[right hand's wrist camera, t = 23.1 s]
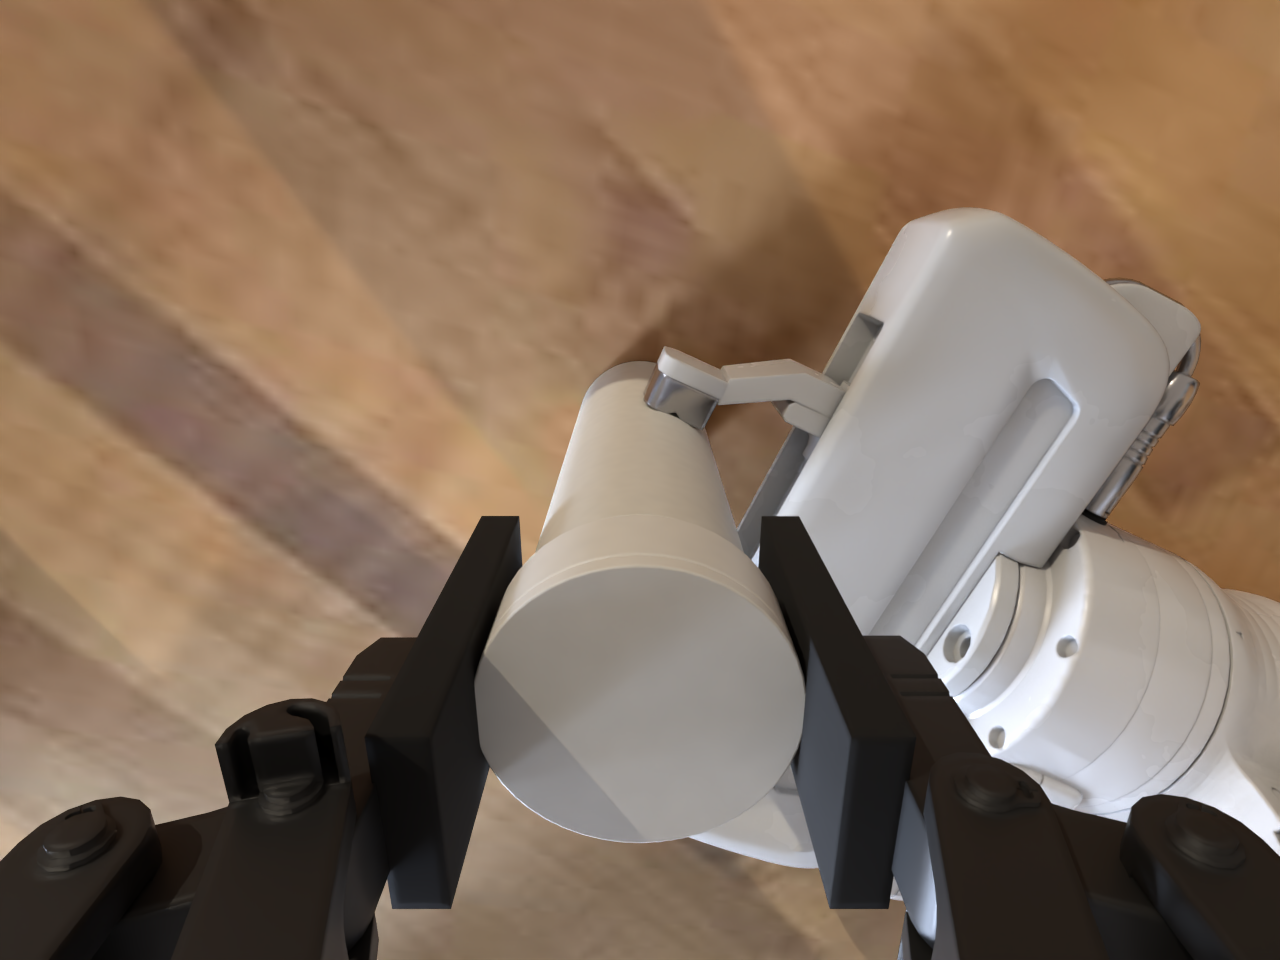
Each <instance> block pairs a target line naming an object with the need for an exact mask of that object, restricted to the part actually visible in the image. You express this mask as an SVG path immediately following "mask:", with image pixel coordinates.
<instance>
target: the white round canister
mask: <svg viewBox="0 0 1280 960" xmlns="http://www.w3.org/2000/svg"><path fill="white" fill-rule="evenodd" d="M474 686H475V698H476V709H477V719H478V730H479V740H480V747H481V750H482V752H483V754H484V756H485V758H486V760H487V762H488V764H489V766H490V768H491V769H492V770H493V772H494V773H495V775H496V776H497V777H498V779H499V780H500V781H501V783H502V784H503V785H504V786H505V787H506V788H507V789H508V790H509V791H510V792H511V793H512V794H513V796H514V797H516V798H517V799H518V800H519V801H520V802H522V803H523V804H524V805H525V806H527V807H528V808H529V809H531V810H532V811H534V812H535V813H537V814H538V815H540V816H541V817H543V818H545V819H546V820H548V821H550V822H552V823H554V824H557V825H559V826H561V827H563V828H565V829H568V830H571V831H573V832H576V833H579V834H582V835H586V836H590V837H594V838H598V839H602V840H609V841H616V842H629V843H650V842H663V841H670V840H676V839H682V838H686V837H689V836H693V835H697V834H700V833H703V832H706V831H708V830H711V829H714V828H716V827H719V826H721V825H723V824H725V823H727V822H729V821H730V820H732V819H734V818H736V817H738V816H739V815H741V814H742V813H744V812H745V811H747V810H748V809H750V808H751V807H753V806H754V805H755V804H756V803H757V802H759V801H760V800H761V799H762V798H763V797H764V796H766V795H767V794H768V793H769V791H770V790H771V789H772V788H773V787H774V786H775V785H776V784H777V783H778V782H779V780H780V779H781V777H782V776H783V775H784V773H785V772H786V770H787V769H788V767H789V766H790V764H791V762H792V760H793V758H794V756H795V754H796V752H797V750H798V747H799V744H800V741H801V736H802V728H803V717H804V707H805V695H806V685H805V678H804V674H803V671H802V668H801V665H800V662H799V659H798V656H797V653H796V650H795V648H794V645H793V642H792V639H791V636H790V634H789V631H788V628H787V625H786V622H785V620H784V617H783V614H782V611H781V609H780V606H779V603H778V600H777V598H776V596H775V594H774V592H773V590H772V588H771V586H770V584H769V582H768V581H767V579H766V578H765V576H764V575H763V574H762V572H761V571H760V569H759V568H758V567H757V566H756V565H755V564H754V563H753V562H752V560H751V559H750V558H749V557H748V556H747V555H746V554H745V553H743V552H742V551H741V550H740V549H738V548H737V547H736V546H735V545H733V544H732V543H731V542H729V541H727V540H726V539H724V538H722V537H721V536H719V535H718V534H716V533H714V532H712V531H709V530H707V529H705V528H703V527H700V526H698V525H695V524H692V523H689V522H685V521H682V520H679V519H673V518H668V517H662V516H652V515H628V516H616V517H611V518H606V519H601V520H596V521H593V522H590V523H587V524H584V525H581V526H578V527H576V528H574V529H572V530H570V531H568V532H565V533H563V534H561V535H560V536H558V537H556V538H555V539H553V540H552V541H550V542H549V543H547V544H546V545H544V546H543V547H542V548H541V549H539V550H538V551H537V552H536V553H535V554H534V555H532V556H531V557H530V558H529V559H528V560H527V562H526V563H525V564H524V565H523V566H522V567H521V568H520V569H519V571H518V572H517V573H516V575H515V576H514V578H513V579H512V581H511V583H510V584H509V586H508V588H507V590H506V592H505V594H504V596H503V598H502V600H501V603H500V606H499V609H498V611H497V614H496V617H495V620H494V622H493V625H492V628H491V631H490V633H489V636H488V639H487V642H486V644H485V647H484V650H483V653H482V655H481V658H480V661H479V664H478V668H477V671H476V674H475V678H474Z"/></svg>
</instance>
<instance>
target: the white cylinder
mask: <svg viewBox="0 0 1280 960" xmlns="http://www.w3.org/2000/svg"><path fill="white" fill-rule="evenodd" d="M655 365H656V363H653V362H648V361H632V362H627V363H622V364H619V365H617V366H614V367H612V368H610V369H608V370H607V371H605V372H604V373H603V374H601V375H600V376H599V377H598V378H597V379H596V380H595V381H594V382H593V383H592V385H591V386H590V387H589V389H588V391H587V392H586V394H585V397H584V399H583V402H582V405H581V408H580V411H579V415H578V418H577V421H576V424H575V427H574V431H573V434H572V437H571V440H570V443H569V447H568V450H567V453H566V456H565V459H564V462H563V466H562V469H561V472H560V475H559V478H558V482H557V485H556V488H555V491H554V494H553V498H552V501H551V504H550V507H549V510H548V514H547V517H546V520H545V523H544V526H543V529H542V533H541V536H540V539H539V542H538V545H537V549H536V552H537V551H538V550H539V549H541V548H542V547H543V546H544V545H546V544H547V543H549V542H550V541H552V540H553V539H555V538H556V537H558V536H560V535H561V534H563V533H565V532H568V531H570V530H572V529H574V528H576V527H578V526H581V525H584V524H587V523H590V522H593V521H596V520H601V519H606V518H611V517H616V516H628V515H652V516H662V517H668V518H673V519H679V520H682V521H685V522H689V523H692V524H695V525H698V526H700V527H703V528H705V529H707V530H709V531H712V532H714V533H716V534H718V535H719V536H721V537H722V538H724V539H726V540H727V541H729V542H731V543H732V544H733V545H735V546H736V547H737V548H738V549H740V550H741V551H742V552H743V553H744V551H743V548H742V545H741V541H740V538H739V535H738V532H737V529H736V525H735V522H734V519H733V516H732V513H731V509H730V506H729V503H728V500H727V497H726V493H725V490H724V487H723V484H722V481H721V477H720V474H719V471H718V468H717V465H716V461H715V458H714V455H713V452H712V449H711V445H710V442H709V439H708V436H707V433H706V429H705V427H704V429H703V430H701V429H698V428H696V427H694V426H691V425H689V424H687V423H685V422H683V421H682V420H680V419H679V417H678V415H677V413H676V412H675V413H669V414H666V413H663V412H660V411H658V410H655V409H654V408H652V407H650V406H649V405H647V404H646V403H645V402H644V400H643V398H644V395H643V394H644V390H645V388H646V386H647V384H648V381H649V379H650V377H651V374H652V372H653V370H654V368H655ZM536 552H535V553H536Z"/></svg>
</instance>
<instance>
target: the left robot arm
mask: <svg viewBox="0 0 1280 960" xmlns="http://www.w3.org/2000/svg"><path fill="white" fill-rule="evenodd" d="M1200 331H1201V324H1200V322H1199V321H1198V319H1197V318H1196V316H1195V315H1194V314H1193V313H1192V312H1191V311H1190V310H1188V309H1187V308H1186V307H1185V306H1184V305H1183V304H1181V303H1180V302H1178V301H1176V300H1174V299H1172V298H1170V297H1168V296H1167V295H1165V294H1163V293H1161V292H1159V291H1157V290H1155V289H1153V288H1151V287H1150V286H1148V285H1146V284H1144V283H1142V282H1140V281H1136V280H1133V279H1127V278H1109V279H1104V280H1103V279H1101V278H1100V277H1099V276H1098V275H1096V274H1095V273H1094V272H1092V271H1091V270H1090V269H1088V268H1087V267H1086V266H1085V265H1083V264H1082V263H1081V262H1079V261H1078V260H1076V259H1075V258H1074V257H1072V256H1071V255H1069V254H1068V253H1067V252H1065V251H1064V250H1062V249H1061V248H1059V247H1058V246H1056V245H1055V244H1053V243H1052V242H1050V241H1049V240H1048V239H1046V238H1044V237H1043V236H1041V235H1039V234H1038V233H1036V232H1035V231H1033V230H1031V229H1030V228H1028V227H1027V226H1025V225H1023V224H1021V223H1020V222H1018V221H1016V220H1014V219H1012V218H1011V217H1009V216H1006V215H1004V214H1002V213H1000V212H997V211H993V210H988V209H983V208H972V207H961V208H952V209H948V210H943V211H940V212H936V213H933V214H929V215H926V216H923V217H920V218H918V219H915V220H912V221H910V222H909V223H907V224H906V225H905V226H904V227H903V228H902V229H901V231H900V232H899V234H898V235H897V237H896V239H895V241H894V243H893V244H892V246H891V248H890V250H889V252H888V254H887V255H886V257H885V259H884V261H883V263H882V265H881V266H880V268H879V270H878V272H877V274H876V276H875V277H874V279H873V281H872V283H871V285H870V287H869V288H868V290H867V292H866V294H865V296H864V297H863V299H862V301H861V303H860V305H859V307H858V308H857V310H856V312H855V314H854V316H853V318H852V319H851V321H850V323H849V325H848V327H847V328H846V330H845V332H844V334H843V336H842V338H841V339H840V341H839V343H838V345H837V347H836V349H835V350H834V352H833V354H832V356H831V358H830V360H829V361H828V363H827V365H826V367H825V369H824V370H823V372H822V373H820V372H818V371H816V370H813V369H811V368H809V367H807V366H805V365H803V364H800V363H798V362H796V361H794V360H792V359H780V360H770V361H761V362H752V363H743V364H734V365H725V366H722V368H721V370H720V369H718V368H716V367H714V366H712V365H710V364H707V363H705V362H703V361H701V360H699V359H696V358H694V357H692V356H690V355H688V354H686V353H683V352H681V351H679V350H677V349H674V348H670V347H666V346H664V348H663V350H662V353H661V355H660V357H659V359H658V361H657V363H656V365H655V368H654V370H653V372H652V374H651V377H650V379H649V381H648V384H647V386H646V388H645V390H644V394H643V395H644V398H643V400H644V402H645V403H646V404H647V405H649V406H650V407H652V408H654V409H655V410H658V411H660V412H663V413H666V414H669V413H675V412H676V413H677V415H678V417H679V419H680V420H682V421H683V422H685V423H687V424H689V425H691V426H694V427H696V428H698V429H701V430H703V429H704V427H705V425H706V423H707V421H708V419H709V418H710V416H711V414H712V412H713V410H714V408H715V406H716V404H718V405H728V404H741V403H754V402H767V401H771V403H772V404H773V406H774V407H775V408H776V410H777V411H778V413H779V414H780V415H781V417H782V418H783V419H784V421H785V422H787V423H789V424H791V425H793V427H792V429H791V431H790V433H789V434H788V436H787V438H786V440H785V442H784V443H783V445H782V447H781V449H780V451H779V453H778V454H777V456H776V458H775V460H774V462H773V464H772V465H771V467H770V469H769V471H768V473H767V475H766V476H765V478H764V480H763V482H762V484H761V485H760V487H759V489H758V491H757V493H756V495H755V496H754V498H753V500H752V502H751V504H750V506H749V507H748V509H747V511H746V513H745V515H744V516H743V518H742V520H741V522H740V524H739V526H738V527H737V532H738V535H739V538H740V541H741V545H742V548H743V551H744V553H745V554H746V555H747V556H748V557H749V558H750V559H751V560H752V562H753V563H754V564H755V565H756V566H757V567H758V565H759V550H760V534H761V518H762V516H799V517H800V519H801V521H802V523H803V525H804V526H805V528H806V530H807V532H808V534H809V536H810V538H811V540H812V542H813V543H814V545H815V547H816V549H817V551H818V553H819V555H820V557H821V558H822V560H823V562H824V564H825V566H826V568H827V570H828V572H829V573H830V575H831V577H832V579H833V581H834V583H835V585H836V587H837V589H838V590H839V592H840V594H841V596H842V598H843V600H844V602H845V604H846V605H847V607H848V609H849V611H850V613H851V615H852V617H853V619H854V620H855V622H856V624H857V626H858V628H859V630H860V632H861V634H862V635H900V636H901V637H903V638H904V639H906V640H907V641H908V642H910V643H911V644H912V645H914V646H915V647H916V648H918V649H919V650H920V651H922V652H923V653H924V654H925V655H926V657H927V658H928V660H929V661H930V663H931V664H932V666H933V667H934V669H935V670H936V672H937V674H938V678H941V680H942V681H943V683H944V684H945V686H946V687H947V689H948V690H949V695H950V696H952V697H953V698H954V700H955V701H956V703H957V704H958V706H959V707H960V709H961V710H962V712H963V713H964V715H965V716H966V718H967V720H968V721H969V723H970V724H971V726H972V727H973V729H974V730H975V732H976V733H977V735H978V736H979V738H980V739H981V741H982V742H983V744H984V746H985V747H986V749H987V750H988V752H989V753H990V755H991V756H992V757H995V758H998V759H1002V760H1004V761H1005V762H1007V763H1009V764H1011V765H1013V766H1015V767H1017V768H1019V769H1021V770H1023V771H1024V772H1025V773H1026V774H1028V775H1029V776H1030V777H1031V778H1032V779H1033V780H1035V781H1036V782H1037V783H1038V784H1039V785H1040V786H1041V787H1042V789H1043V790H1044V792H1045V794H1046V795H1047V797H1048V798H1049V800H1050V801H1051V803H1053V804H1056V805H1059V806H1062V807H1065V808H1069V809H1072V810H1075V811H1080V812H1084V813H1088V814H1092V815H1097V816H1101V817H1105V818H1109V819H1114V820H1118V821H1122V822H1126V823H1127V820H1128V817H1129V814H1130V810H1131V807H1132V806H1133V805H1134V804H1135V803H1136V802H1137V801H1138V800H1140V799H1141V798H1142V797H1145V796H1152V795H1158V794H1166V795H1173V796H1180V797H1187V798H1190V799H1192V800H1195V801H1198V802H1201V803H1204V804H1207V805H1210V806H1213V807H1215V808H1217V809H1219V810H1220V811H1222V812H1224V813H1226V814H1228V815H1229V816H1231V817H1233V818H1235V819H1237V820H1239V821H1240V822H1242V823H1243V824H1244V825H1246V826H1247V827H1248V828H1249V829H1251V830H1252V831H1253V832H1254V833H1255V834H1257V835H1258V836H1259V837H1260V838H1262V839H1263V840H1264V841H1265V842H1266V843H1267V844H1268V845H1269V846H1270V847H1271V848H1272V849H1273V850H1274V851H1275V852H1276V853H1277V854H1278V855H1279V856H1280V603H1279V602H1277V601H1274V600H1271V599H1269V598H1266V597H1263V596H1259V595H1256V594H1252V593H1248V592H1244V591H1238V590H1232V589H1223V588H1220V587H1219V586H1218V585H1217V584H1216V583H1215V582H1214V581H1213V580H1212V579H1211V578H1210V577H1209V576H1207V575H1206V574H1205V573H1204V572H1202V571H1201V570H1200V569H1199V568H1198V567H1196V566H1195V565H1193V564H1191V563H1190V562H1188V561H1186V560H1185V559H1183V558H1181V557H1180V556H1178V555H1176V554H1174V553H1172V552H1170V551H1167V550H1165V549H1163V548H1161V547H1159V546H1157V545H1155V544H1153V543H1151V542H1148V541H1146V540H1144V539H1142V538H1140V537H1137V536H1135V535H1133V534H1131V533H1129V532H1127V531H1125V530H1122V529H1120V528H1118V527H1116V526H1114V525H1112V524H1110V523H1108V522H1106V521H1105V520H1106V519H1107V518H1108V516H1109V514H1110V513H1111V512H1112V511H1113V509H1114V508H1115V507H1116V505H1117V504H1118V503H1119V501H1120V500H1121V498H1122V497H1123V496H1124V494H1125V493H1126V492H1127V490H1128V489H1129V488H1130V486H1131V485H1132V484H1133V482H1134V481H1135V479H1136V478H1137V476H1138V475H1139V473H1140V472H1141V470H1142V469H1143V466H1142V465H1145V463H1146V461H1147V459H1148V458H1147V456H1150V454H1151V452H1152V451H1153V449H1152V448H1153V447H1155V446H1156V445H1157V443H1158V442H1159V440H1158V439H1159V438H1162V436H1163V435H1164V434H1165V432H1166V431H1167V429H1168V428H1169V427H1170V425H1171V426H1174V425H1175V424H1176V423H1177V422H1178V420H1179V419H1180V418H1181V417H1182V416H1183V415H1184V413H1185V412H1186V410H1187V409H1188V408H1189V406H1190V405H1191V403H1192V401H1193V399H1194V397H1195V395H1196V393H1197V391H1198V389H1199V386H1200V382H1199V381H1198V380H1196V379H1194V378H1192V377H1191V376H1192V375H1193V373H1194V370H1195V368H1196V366H1197V363H1198V360H1199V355H1200V349H1201V337H1200ZM1177 365H1178V366H1177ZM1176 366H1177V368H1176ZM1175 368H1176V371H1175V370H1174V369H1175ZM689 837H690V838H693V839H695V840H698V841H701V842H704V843H707V844H710V845H713V846H716V847H719V848H722V849H725V850H729V851H732V852H735V853H738V854H742V855H745V856H749V857H752V858H756V859H759V860H763V861H767V862H771V863H775V864H779V865H784V866H789V867H797V868H819V867H818V864H817V860H816V856H815V853H814V849H813V845H812V842H811V838H810V834H809V831H808V827H807V823H806V820H805V816H804V812H803V809H802V805H801V801H800V798H799V794H798V790H797V787H796V783H795V780H794V776H793V772H792V769H791V765H790V766H789V767H788V769H787V770H786V772H785V773H784V775H783V776H782V777H781V779H780V780H779V782H778V783H777V784H776V785H775V786H774V787H773V788H772V789H771V790H770V791H769V793H768V794H767V795H766V796H764V797H763V798H762V799H761V800H760V801H759V802H757V803H756V804H755V805H754V806H753V807H751V808H750V809H748V810H747V811H745V812H744V813H742V814H741V815H739V816H738V817H736V818H734V819H732V820H730V821H729V822H727V823H725V824H723V825H721V826H719V827H716V828H714V829H711V830H708V831H706V832H703V833H700V834H697V835H693V836H689ZM890 899H894V900H899V901H903V898H902V896H901V893H900V891H899V888H898V885H897V883H896V880H895V878H893V884H892V890H891V896H890Z"/></svg>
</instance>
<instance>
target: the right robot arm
mask: <svg viewBox="0 0 1280 960" xmlns="http://www.w3.org/2000/svg"><path fill="white" fill-rule="evenodd" d="M521 567H522V554H521V538H520V522H519V516H482V517H481V519H480V520H479V522H478V524H477V526H476V528H475V530H474V532H473V534H472V535H471V537H470V539H469V541H468V543H467V545H466V547H465V549H464V551H463V552H462V554H461V556H460V558H459V560H458V562H457V564H456V566H455V567H454V569H453V571H452V573H451V575H450V577H449V579H448V581H447V582H446V584H445V586H444V588H443V590H442V592H441V594H440V596H439V598H438V599H437V601H436V603H435V605H434V607H433V609H432V611H431V613H430V614H429V616H428V618H427V620H426V622H425V624H424V626H423V628H422V630H421V631H420V633H419V635H418V637H417V638H380V639H378V640H377V641H376V642H374V643H373V644H372V645H370V646H369V647H368V648H366V649H365V650H364V651H362V652H361V653H360V654H358V655H357V656H356V658H355V659H354V661H353V662H352V664H351V665H350V667H349V668H348V670H347V671H346V673H345V675H344V676H343V681H340V682H339V684H338V685H337V687H336V688H335V690H334V692H333V693H332V698H331V699H328V701H327V702H324V701H320V700H316V699H312V698H310V699H289V700H285V701H281V702H277V703H273V704H269V705H266V706H264V707H262V708H259V709H257V710H255V711H253V712H251V713H249V714H246V715H244V716H243V717H242V718H240V719H239V720H238V721H236V722H235V723H234V724H232V725H231V726H230V727H228V728H227V729H226V730H225V731H224V733H223V734H222V736H221V737H220V738H219V740H218V741H217V742H216V744H215V747H216V751H217V755H218V759H219V763H220V767H221V771H222V775H223V779H224V783H225V787H226V791H227V795H228V799H229V805H228V807H225V808H222V809H218V810H215V811H212V812H209V813H205V814H201V815H196V816H192V817H188V818H184V819H179V820H175V821H171V822H167V823H162V824H158V825H155V824H154V820H153V817H152V814H151V810H150V809H149V808H148V807H147V806H146V805H145V804H144V803H142V802H141V801H140V800H137V799H131V798H125V797H115V798H108V799H100V800H95V801H92V802H89V803H86V804H83V805H80V806H78V807H75V808H72V809H69V810H67V811H65V812H63V813H61V814H60V815H58V816H56V817H54V818H52V819H51V820H49V821H47V822H45V823H43V824H42V825H40V826H39V827H38V828H36V829H35V830H34V831H33V832H32V833H30V834H29V835H28V836H27V837H25V838H24V839H23V840H22V841H20V842H19V843H18V844H17V845H16V846H15V847H14V848H13V849H12V850H11V851H10V852H9V853H8V854H7V855H6V856H5V857H4V858H3V859H2V860H1V861H0V960H377V952H378V942H379V939H378V931H377V924H376V918H375V913H374V912H375V909H376V906H377V904H378V901H379V899H380V896H381V893H382V891H383V888H384V886H385V883H386V880H387V879H388V885H389V892H390V898H391V904H392V909H451V906H452V903H453V899H454V895H455V892H456V888H457V884H458V881H459V877H460V874H461V870H462V866H463V863H464V859H465V855H466V852H467V848H468V844H469V841H470V837H471V833H472V830H473V826H474V822H475V819H476V815H477V811H478V808H479V804H480V800H481V797H482V793H483V790H484V786H485V782H486V779H487V775H488V771H489V768H490V766H489V764H488V762H487V760H486V758H485V756H484V754H483V752H482V750H481V747H480V740H479V730H478V719H477V709H476V698H475V686H474V678H475V674H476V671H477V668H478V664H479V661H480V658H481V655H482V653H483V650H484V647H485V644H486V642H487V639H488V636H489V633H490V631H491V628H492V625H493V622H494V620H495V617H496V614H497V611H498V609H499V606H500V603H501V600H502V598H503V596H504V594H505V592H506V590H507V588H508V586H509V584H510V583H511V581H512V579H513V578H514V576H515V575H516V573H517V572H518V571H519V569H520V568H521ZM758 568H759V569H760V571H761V572H762V574H763V575H764V576H765V578H766V579H767V581H768V582H769V584H770V586H771V588H772V590H773V592H774V594H775V596H776V598H777V600H778V603H779V606H780V609H781V611H782V614H783V617H784V620H785V622H786V625H787V628H788V631H789V634H790V636H791V639H792V642H793V645H794V648H795V650H796V653H797V656H798V659H799V662H800V665H801V668H802V671H803V674H804V678H805V685H806V695H805V707H804V717H803V728H802V736H801V741H800V744H799V747H798V750H797V752H796V754H795V756H794V758H793V760H792V762H791V764H790V765H791V769H792V772H793V776H794V780H795V783H796V787H797V790H798V794H799V798H800V801H801V805H802V809H803V812H804V816H805V820H806V823H807V827H808V831H809V834H810V838H811V842H812V845H813V849H814V853H815V856H816V860H817V864H818V867H819V871H820V874H821V878H822V882H823V885H824V889H825V893H826V896H827V900H828V904H829V907H830V909H888V908H889V902H890V896H891V890H892V884H893V878H895V880H896V883H897V885H898V888H899V891H900V893H901V896H902V898H903V901H904V904H905V906H906V913H905V918H904V924H903V930H902V935H901V941H900V947H899V953H898V958H897V960H1280V856H1279V855H1278V854H1277V853H1276V852H1275V851H1274V850H1273V849H1272V848H1271V847H1270V846H1269V845H1268V844H1267V843H1266V842H1265V841H1264V840H1263V839H1262V838H1260V837H1259V836H1258V835H1257V834H1255V833H1254V832H1253V831H1252V830H1251V829H1249V828H1248V827H1247V826H1246V825H1244V824H1243V823H1242V822H1240V821H1239V820H1237V819H1235V818H1233V817H1231V816H1229V815H1228V814H1226V813H1224V812H1222V811H1220V810H1219V809H1217V808H1215V807H1213V806H1210V805H1207V804H1204V803H1201V802H1198V801H1195V800H1192V799H1190V798H1187V797H1180V796H1173V795H1166V794H1158V795H1152V796H1145V797H1142V798H1141V799H1140V800H1138V801H1137V802H1136V803H1135V804H1134V805H1133V806H1132V807H1131V810H1130V814H1129V817H1128V820H1127V823H1126V822H1122V821H1118V820H1114V819H1109V818H1105V817H1101V816H1097V815H1092V814H1088V813H1084V812H1080V811H1075V810H1072V809H1069V808H1065V807H1062V806H1059V805H1056V804H1053V803H1051V801H1050V800H1049V798H1048V797H1047V795H1046V794H1045V792H1044V790H1043V789H1042V787H1041V786H1040V785H1039V784H1038V783H1037V782H1036V781H1035V780H1033V779H1032V778H1031V777H1030V776H1029V775H1028V774H1026V773H1025V772H1024V771H1023V770H1021V769H1019V768H1017V767H1015V766H1013V765H1011V764H1009V763H1007V762H1005V761H1004V760H1002V759H998V758H995V757H992V756H991V755H990V753H989V752H988V750H987V749H986V747H985V746H984V744H983V742H982V741H981V739H980V738H979V736H978V735H977V733H976V732H975V730H974V729H973V727H972V726H971V724H970V723H969V721H968V720H967V718H966V716H965V715H964V713H963V712H962V710H961V709H960V707H959V706H958V704H957V703H956V701H955V700H954V698H953V697H952V696H950V695H949V690H948V689H947V687H946V686H945V684H944V683H943V681H942V680H941V678H938V674H937V672H936V670H935V669H934V667H933V666H932V664H931V663H930V661H929V660H928V658H927V657H926V655H925V654H924V653H923V652H922V651H920V650H919V649H918V648H916V647H915V646H914V645H912V644H911V643H910V642H908V641H907V640H906V639H904V638H903V637H901V636H900V635H862V634H861V632H860V630H859V628H858V626H857V624H856V622H855V620H854V619H853V617H852V615H851V613H850V611H849V609H848V607H847V605H846V604H845V602H844V600H843V598H842V596H841V594H840V592H839V590H838V589H837V587H836V585H835V583H834V581H833V579H832V577H831V575H830V573H829V572H828V570H827V568H826V566H825V564H824V562H823V560H822V558H821V557H820V555H819V553H818V551H817V549H816V547H815V545H814V543H813V542H812V540H811V538H810V536H809V534H808V532H807V530H806V528H805V526H804V525H803V523H802V521H801V519H800V517H799V516H762V518H761V534H760V550H759V565H758Z"/></svg>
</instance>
